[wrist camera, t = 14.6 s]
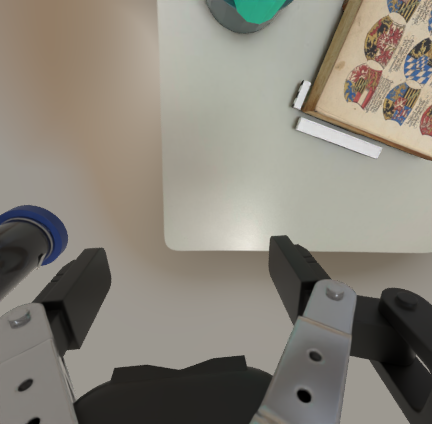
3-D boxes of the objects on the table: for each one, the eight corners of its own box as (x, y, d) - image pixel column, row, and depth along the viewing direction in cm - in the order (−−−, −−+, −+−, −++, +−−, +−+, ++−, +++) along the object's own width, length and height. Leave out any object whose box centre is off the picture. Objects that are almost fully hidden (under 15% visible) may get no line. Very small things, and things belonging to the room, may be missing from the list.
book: (280, 125, 43) (408, 172, 48) (293, 126, 37) (438, 179, 42) (349, -48, 35) (494, 30, 40) (380, -82, 29) (546, 14, 34)
